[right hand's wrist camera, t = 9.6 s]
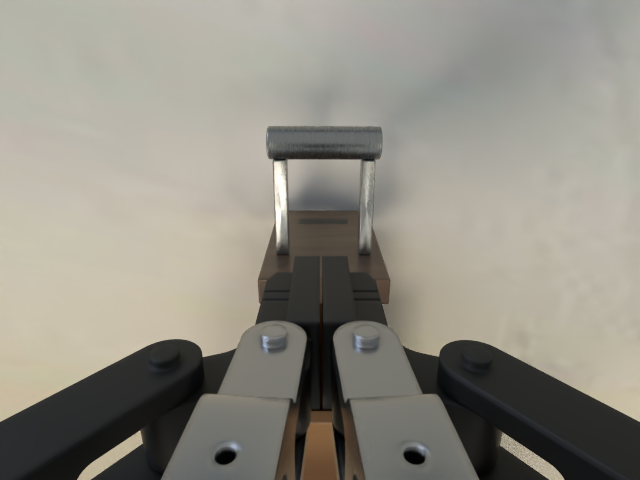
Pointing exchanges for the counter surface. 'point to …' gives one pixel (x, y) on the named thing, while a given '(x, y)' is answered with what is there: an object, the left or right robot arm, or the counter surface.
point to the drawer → (324, 226)
